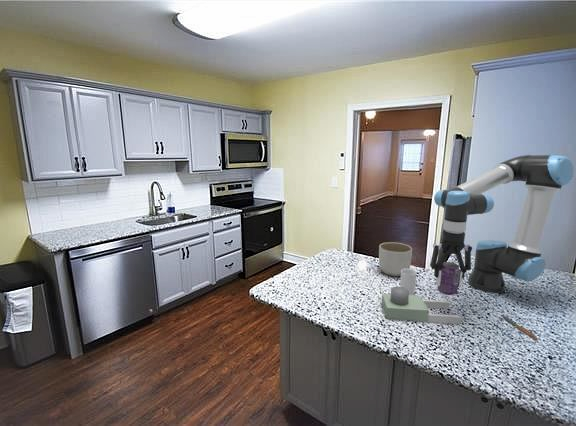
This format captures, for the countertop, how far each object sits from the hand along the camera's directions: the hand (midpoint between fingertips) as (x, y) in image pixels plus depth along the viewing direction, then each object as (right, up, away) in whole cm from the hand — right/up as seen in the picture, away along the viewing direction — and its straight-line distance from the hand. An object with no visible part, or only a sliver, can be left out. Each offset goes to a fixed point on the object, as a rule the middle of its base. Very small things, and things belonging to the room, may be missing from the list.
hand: (448, 285), depth 116 cm
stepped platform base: (-10, -13, +5) cm, 17 cm away
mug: (-8, -10, +21) cm, 25 cm away
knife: (+23, -15, -6) cm, 28 cm away
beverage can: (0, -3, +1) cm, 3 cm away
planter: (-6, -4, +44) cm, 45 cm away
